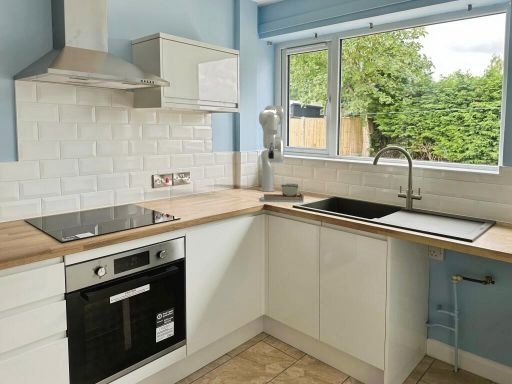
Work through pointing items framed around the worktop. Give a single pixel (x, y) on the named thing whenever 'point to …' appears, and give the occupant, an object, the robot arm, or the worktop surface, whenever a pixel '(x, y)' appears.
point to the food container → (289, 190)
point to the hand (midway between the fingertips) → (270, 158)
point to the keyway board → (282, 198)
